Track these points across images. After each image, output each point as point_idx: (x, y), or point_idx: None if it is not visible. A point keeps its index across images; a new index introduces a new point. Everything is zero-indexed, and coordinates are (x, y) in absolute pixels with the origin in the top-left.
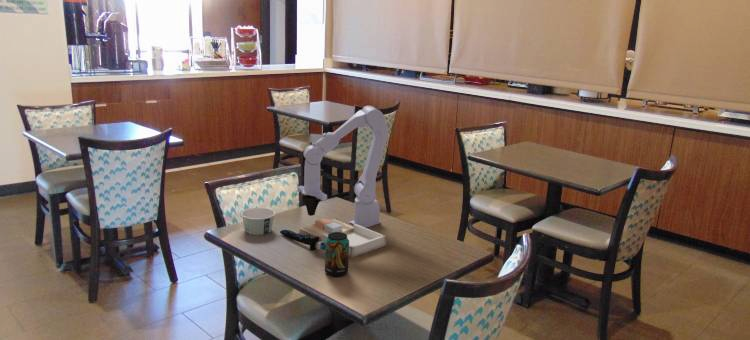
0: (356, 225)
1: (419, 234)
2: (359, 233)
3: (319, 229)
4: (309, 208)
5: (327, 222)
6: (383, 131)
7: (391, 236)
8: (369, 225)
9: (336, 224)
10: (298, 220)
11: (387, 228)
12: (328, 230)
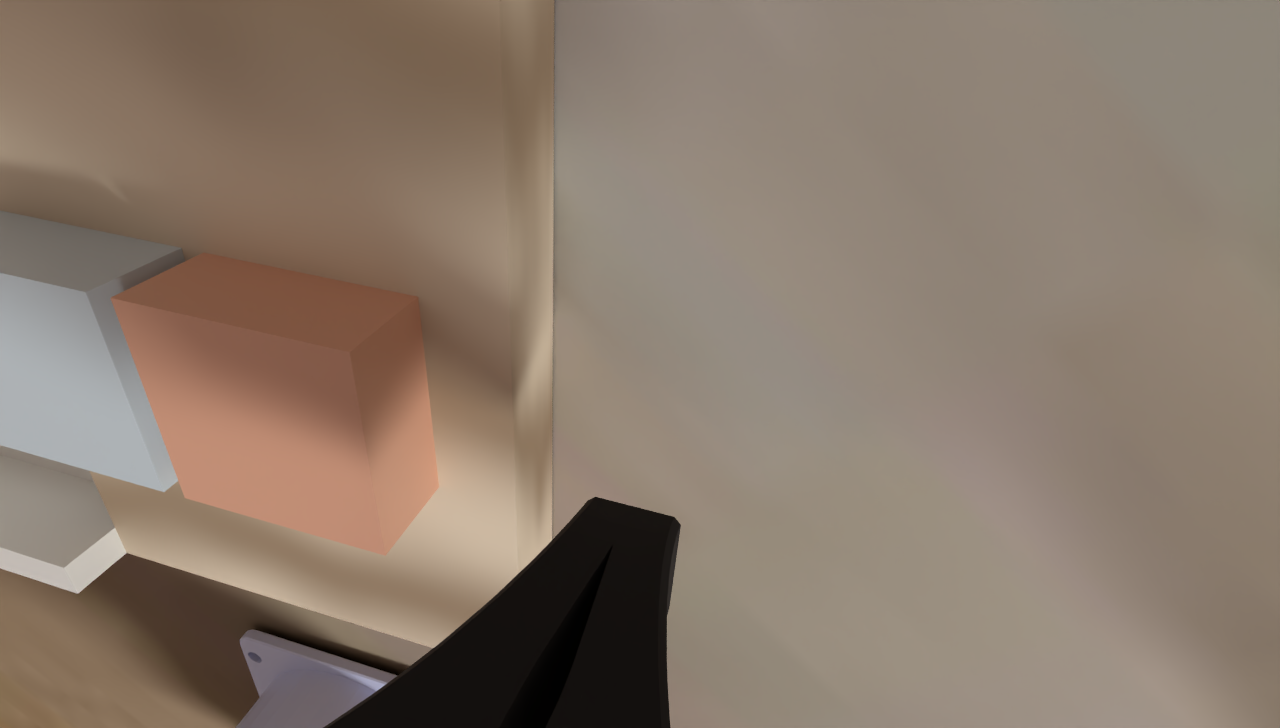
0: (21, 555)
1: (9, 689)
2: (59, 478)
3: (243, 218)
4: (495, 636)
5: (179, 420)
6: None
7: (15, 585)
8: (260, 693)
9: (51, 428)
10: (1111, 498)
11: (184, 703)
12: (60, 238)
